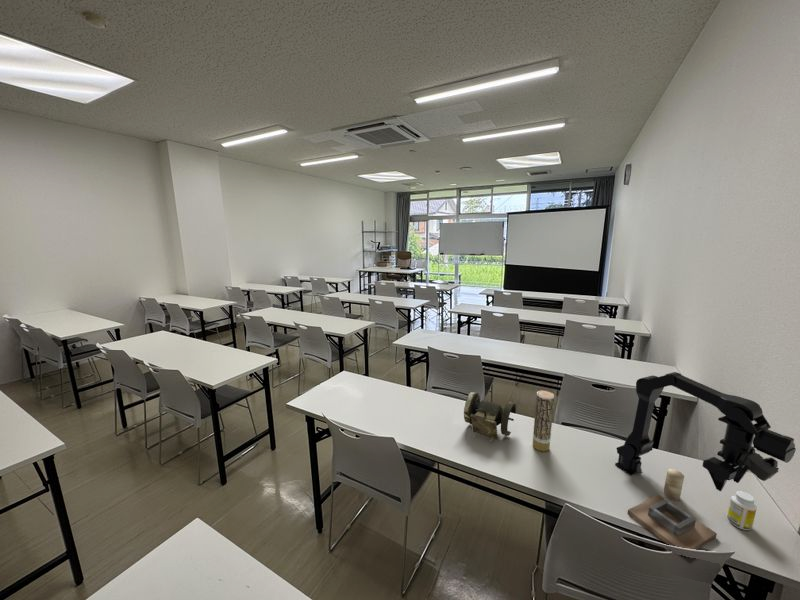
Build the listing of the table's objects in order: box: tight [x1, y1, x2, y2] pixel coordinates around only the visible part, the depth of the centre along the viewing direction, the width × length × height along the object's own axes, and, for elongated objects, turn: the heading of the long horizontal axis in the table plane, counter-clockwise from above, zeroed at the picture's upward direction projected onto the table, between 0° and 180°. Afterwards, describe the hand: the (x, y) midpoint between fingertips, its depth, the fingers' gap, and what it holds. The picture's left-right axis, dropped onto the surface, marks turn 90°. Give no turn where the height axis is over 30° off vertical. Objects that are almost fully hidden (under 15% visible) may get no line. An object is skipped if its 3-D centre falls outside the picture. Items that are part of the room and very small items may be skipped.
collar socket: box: [627, 494, 718, 550], centre depth 101 cm, size 16×16×4 cm
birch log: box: [532, 390, 555, 452], centre depth 137 cm, size 7×7×25 cm
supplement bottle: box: [726, 490, 757, 531], centre depth 101 cm, size 6×6×10 cm
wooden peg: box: [663, 468, 685, 502], centre depth 112 cm, size 4×4×9 cm
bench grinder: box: [463, 391, 517, 443], centre depth 149 cm, size 20×22×20 cm
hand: (727, 486), depth 99 cm, fingers open, 9 cm apart
